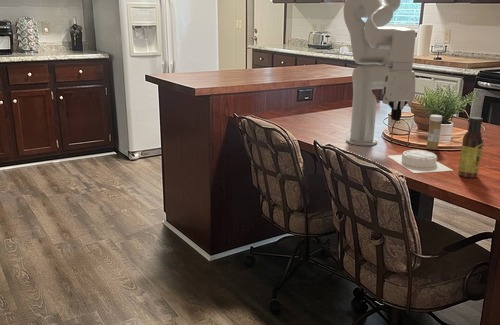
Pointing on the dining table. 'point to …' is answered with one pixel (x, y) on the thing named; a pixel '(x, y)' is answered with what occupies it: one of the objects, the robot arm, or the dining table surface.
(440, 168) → the letter sheet
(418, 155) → the cheese wheel
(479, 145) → the sauce bottle
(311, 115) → the dining table surface
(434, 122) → the sprinkles bottle
